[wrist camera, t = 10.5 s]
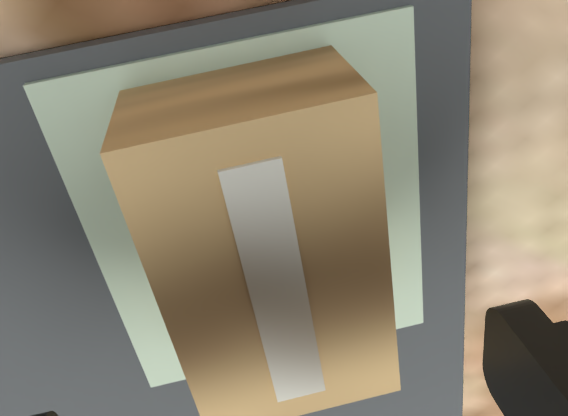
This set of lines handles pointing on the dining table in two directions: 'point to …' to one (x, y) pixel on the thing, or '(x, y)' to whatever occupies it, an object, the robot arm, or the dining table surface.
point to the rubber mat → (117, 239)
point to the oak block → (263, 230)
